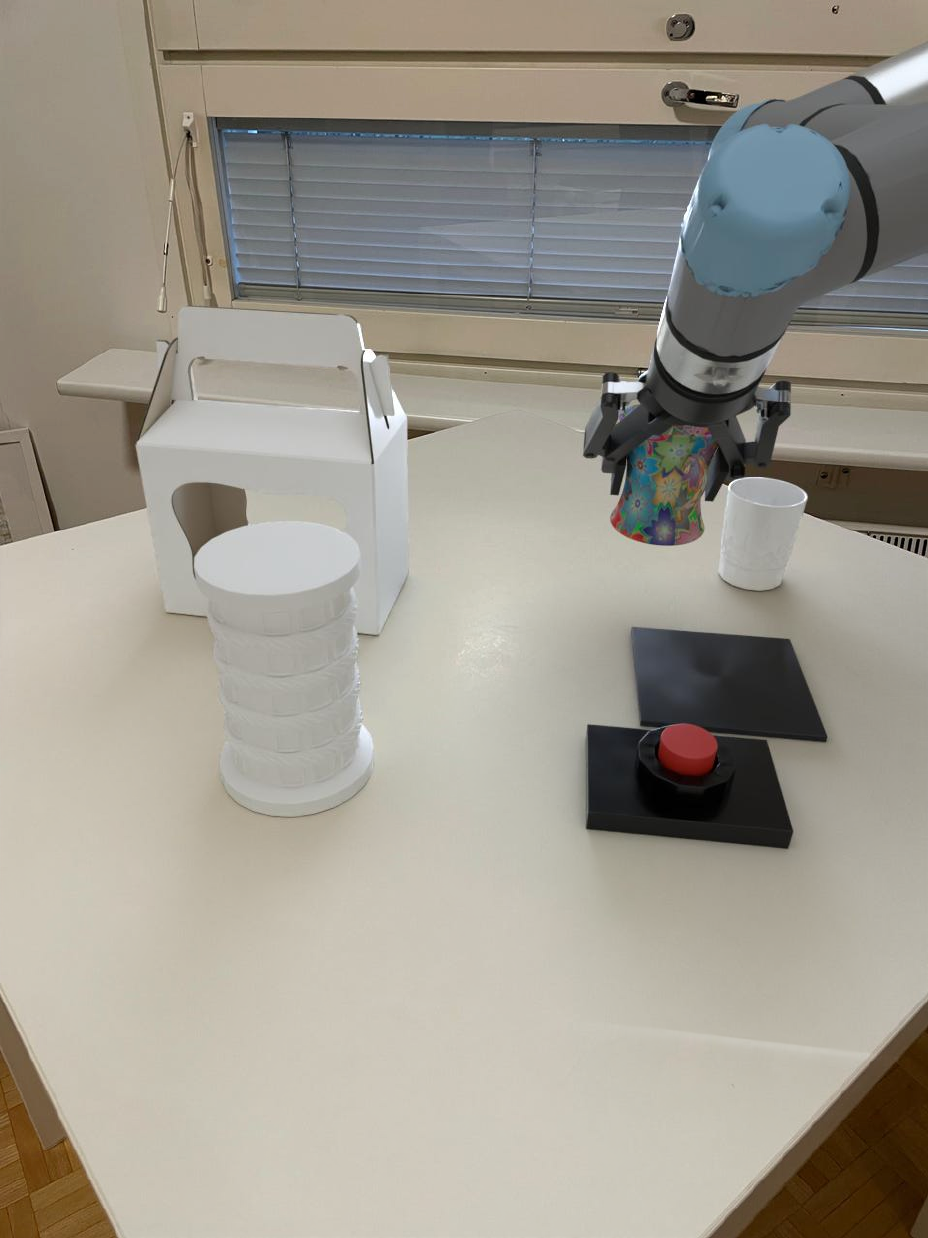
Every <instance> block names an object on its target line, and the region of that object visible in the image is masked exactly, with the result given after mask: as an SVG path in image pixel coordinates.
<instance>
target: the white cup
mask: <svg viewBox="0 0 928 1238" xmlns="http://www.w3.org/2000/svg"><path fill="white" fill-rule="evenodd" d="M808 500H809V495H808V493H807V492H806V491H805V490H804V489H802V488H801V487H799V486H798V485H795V484H794V483H791V482H788V481H784V480H782V479H776V478H771V477H759V476H757V477H756V476H754V477H751V476H750V477H744V478H741V479H734V480H732V481H731V482H730V483H729V485H728V488H727V496H726V502H725V510H724V516H723V523H722V532H721V542H720V555H719V562H718V568H717V569H718V570H717V573H718V575H719V576H720V578H721V580H723V581H724V582H726V583H728V584H730V585H731V586H734V587H736V588H739V589H743V590H747V591H757V592H763V591H769V590H770V591H771V590H774V589H775V588H777V587H779V586H781V584H782V581H783V578H784V574H785V571H786V567H787V566H788V563H789V562H790V558H791V555H792V553H793V550H794V547H795V543H796V540H797V536H798V533H799V530H800V528H801V527H800V526H801V524H802V519H803V516H804V512H805V510H806V506H807V502H808Z"/></svg>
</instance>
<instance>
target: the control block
mask: <svg viewBox="0 0 928 1238" xmlns="http://www.w3.org/2000/svg"><path fill="white" fill-rule="evenodd" d="M670 726H672V725H670ZM667 727H669V726H665V727H661V728H655V729H648V728H647V729H646V728H637V727H636V728H635V727H625V726H624V727H623V726H613V725H601V724H590V723H588V724H587V725H586V733H585V740H584V741H585V746H584V747H585V829H586V830H590V831H591V830H592V831H600V832H601V831H603V832H611V833H623V834H633V835H641V836H642V835H643V836H652V837H653V836H654V837H663V838H671V839H672V838H674V839H685V840H695V841H702V842H704V841H705V842H715V843H724V844H735V845H746V846H756V847H765V848H775V849H776V848H777V849H783V850H789V848H790V844H791V841H792V838H793V834H794V829H793V825H792V822H791V819H790V815H789V811H788V808H787V805H786V801H785V798H784V794H783V790H782V787H781V784H780V780H779V777H778V774H777V770H776V767H775V763H774V760H773V757H772V752H771V750H770V746H769V742H768V740H767V739H763V738H761V739H760V738H751V737H741V736H740V737H737V736H728V735H726V736H725V735H716V734H712V735H713V736H714V738H715V739H716V741H717V745H718V747H717V752H716V757H715V761H714V766H713V768H712V770H711V771H710V772H709V773H708V774H705V775H702V776H689V775H680V774H678V773H676V772H673V771H671V770H669V769H667V768H665V767H664V766H663V765H662V764H661V763H660V761H659V758H658V751H659V746H660V740H661V735H662V732H663V731H664V730H665V729H666V728H667Z"/></svg>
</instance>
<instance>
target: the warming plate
mask: <svg viewBox="0 0 928 1238" xmlns="http://www.w3.org/2000/svg"><path fill="white" fill-rule="evenodd" d="M630 634H631V645H632V656H633V666H634V667H633V669H634V677H635V687H636V697H637V709H638V718H639V719H638V721H639V726H640V727H646V728H655V729H658V728H661V727H665V726H670V725H675V724H690V725H695V726H698V727H701V728H703V729H705V730H707V731H708V732H709V733H713V734H726V735H737V736H750V737H762V738H771V739H772V738H773V739H781V740H782V739H784V740H794V741H795V740H796V741H805V742H806V741H807V742H817V743H818V742H819V743H827V742H828V738H829V737H828V734H827V731H826V728H825V726H824V723H823V721H822V718H821V716H820V713H819V711H818V708H817V705H816V703H815V701H814V698H813V697H814V696H813V695H812V692H811V690H810V688H809V685H808V682H807V680H806V677H805V675H804V674H805V673H804V672H803V669H802V666H801V663H800V661H799V658H798V656H797V653H796V651H795V649H794V646H793V643H792V640H791V638H783V637H772V636H771V637H769V636H758V635H757V636H755V635H746V634H744V635H743V634H732V633H720V632H719V633H717V632H706V631H693V630H682V629H681V630H680V629H678V630H677V629H666V628H653V627H644V626H643V627H642V626H631V628H630Z"/></svg>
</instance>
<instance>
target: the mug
mask: <svg viewBox="0 0 928 1238" xmlns="http://www.w3.org/2000/svg"><path fill="white" fill-rule="evenodd" d="M639 404H640V403H639ZM639 404H638V403H637V404H634V405H630V406H626V407H625V412H624V413H623V414H619V417H618V421H620V420H622V419H623V418H624V417H625V416H626V415H627V414H629V413H630V412H631V411H632V410H633V409H635V408H636V407H637V406H638V405H639ZM718 446H719V444H718V442H717V440H716V439H713V438H712V436H711V434H710V432H709V430H708V428H707V427H696V426H690V425H681V426H672V427H671V428H669V429H668V430H667V431H665V432H664V433H663V434H661V435H660V436H656V435H652V436H651V437H650V438H648V439H647V440H646V441H644V442H643V443H642V444H640V445H639V446H638V447H636V448H635V449H634V450H632V451H631V452H630V453H628V454H627V460H626V468H625V479H624V485H623V488H622V492H621V495H620V498H619V499H618V502H617V504H616V505H615V507H614V508H613V510H612V511H611V513H610V515H609V521H610V524H611V526H612V528H614V530H615V531H616V532H618V533H619V534H621V535H622V536H623V537H626V538H628V539H630V540H633V541H636V542H639V543H643V544H648V545H653V546H663V547H668V546H669V547H671V546H672V547H673V546H682V545H687V544H690V543H693V542H695V541H697V540H698V539H699V538H701V537H702V536H703V535H704V533H705V529H706V528H705V524H704V523H705V522H704V520H703V517H702V509H701V508H702V507H701V502H702V501H701V498H703V495H704V494H705V489H706V486H707V482H708V467H709V465H710V463H711V461H712V459H713V457H714V455H715V453H716V451H717V449H718Z"/></svg>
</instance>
